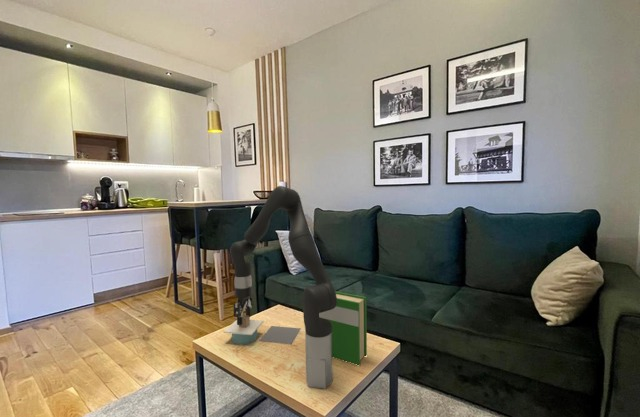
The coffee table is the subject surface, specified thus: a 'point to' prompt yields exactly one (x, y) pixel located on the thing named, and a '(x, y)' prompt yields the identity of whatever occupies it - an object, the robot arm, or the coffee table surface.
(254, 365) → the coffee table surface
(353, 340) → the hardback book
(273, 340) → the rubber mat
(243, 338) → the teal pet bowl
